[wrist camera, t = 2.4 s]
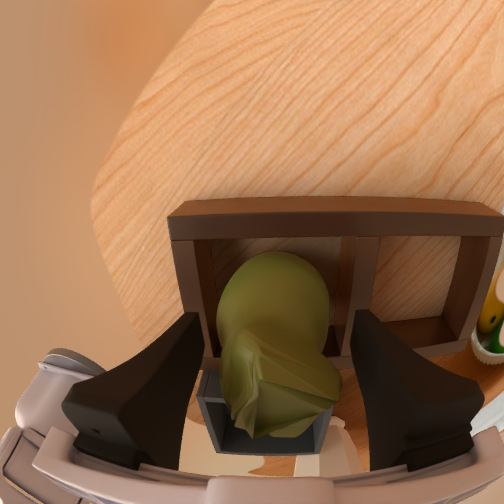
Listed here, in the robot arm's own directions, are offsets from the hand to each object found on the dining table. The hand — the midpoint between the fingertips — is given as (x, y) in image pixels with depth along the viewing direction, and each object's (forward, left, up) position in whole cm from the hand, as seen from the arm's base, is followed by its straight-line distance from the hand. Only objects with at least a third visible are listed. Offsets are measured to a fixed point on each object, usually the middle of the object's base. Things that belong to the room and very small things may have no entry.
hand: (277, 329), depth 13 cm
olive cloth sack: (0, 0, -5) cm, 5 cm away
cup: (+5, -19, -5) cm, 20 cm away
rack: (+4, 0, -5) cm, 6 cm away
